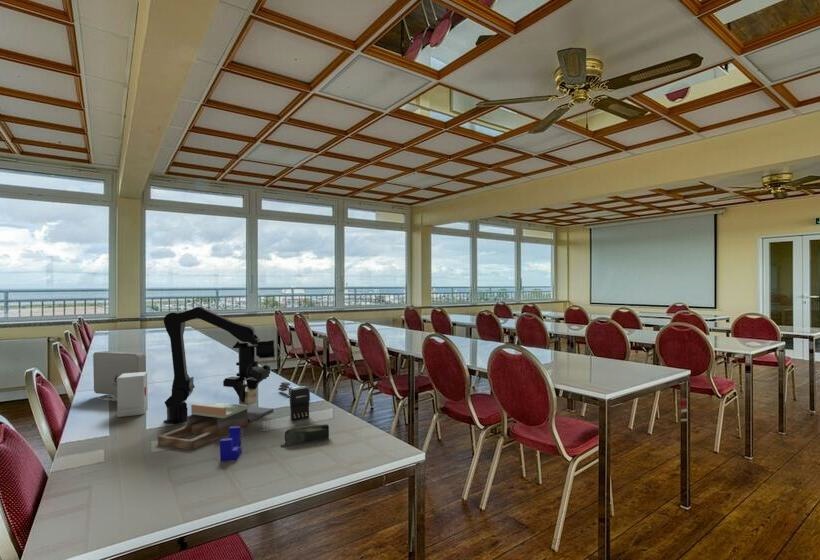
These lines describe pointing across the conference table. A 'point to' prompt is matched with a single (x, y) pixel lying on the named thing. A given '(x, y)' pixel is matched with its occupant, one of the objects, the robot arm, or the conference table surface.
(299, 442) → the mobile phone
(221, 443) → the cable clip
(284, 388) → the extruded letter logo
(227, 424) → the wooden box
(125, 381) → the supplement box
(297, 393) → the battery charger
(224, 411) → the sliding cover
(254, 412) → the charcoal mat
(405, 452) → the conference table surface
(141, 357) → the network device
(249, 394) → the beech block
